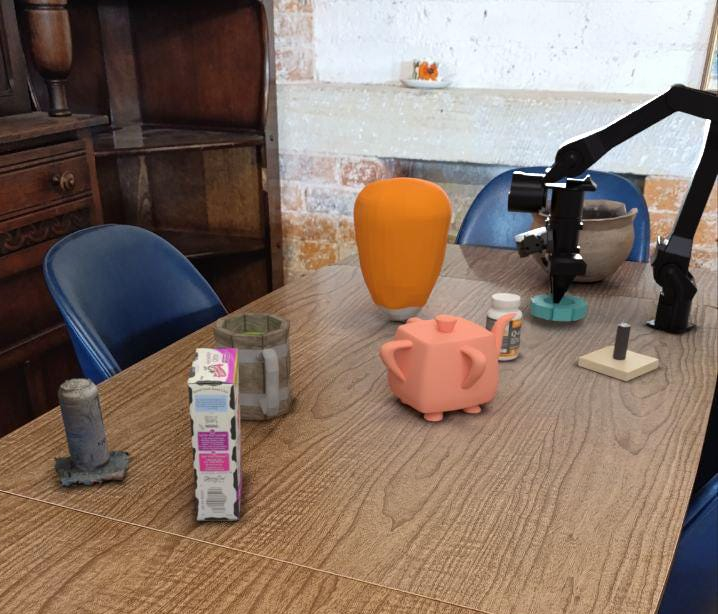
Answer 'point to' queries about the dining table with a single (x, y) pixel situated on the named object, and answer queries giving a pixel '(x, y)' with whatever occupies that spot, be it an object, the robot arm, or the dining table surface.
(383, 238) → the orange egg-shaped ornament
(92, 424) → the grey upright cylinder
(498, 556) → the dining table surface
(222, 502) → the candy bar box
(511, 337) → the pill bottle
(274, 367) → the mug
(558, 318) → the ring
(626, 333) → the peg stand
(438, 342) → the teapot
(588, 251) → the ceramic bowl
